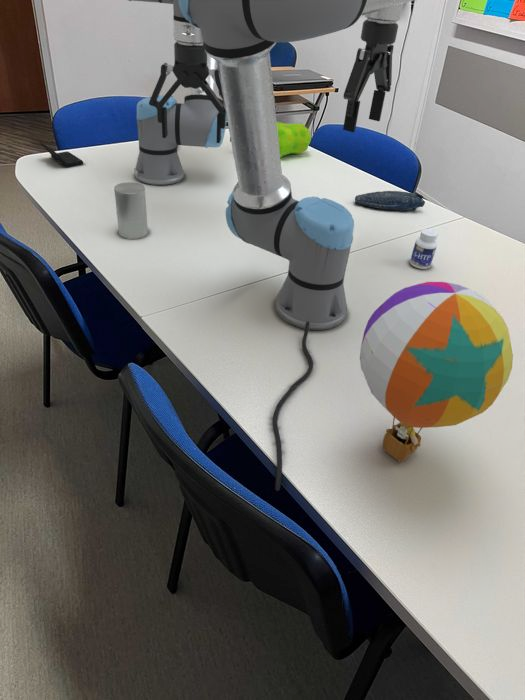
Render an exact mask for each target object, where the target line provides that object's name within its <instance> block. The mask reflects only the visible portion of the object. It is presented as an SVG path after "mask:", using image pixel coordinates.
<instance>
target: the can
mask: <svg viewBox="0 0 525 700" xmlns="http://www.w3.org/2000/svg"><path fill="white" fill-rule="evenodd" d="M113 191H114V202H115V210H116V220H117V228H118V234H119V236H120V237H122V238H124V239H126V240H127V239H128V240H138V239H142V238H144V237H146V236H147V235H148V233H149V230H148V229H149V227H148V214H147V198H146V187H145V186H144V184H142V183H139V182H133V181H129V182H128V181H127V182H126V181H125V182H121V183H117V184H116V185H114V187H113Z"/></svg>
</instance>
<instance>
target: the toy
mask: <svg viewBox="0 0 525 700" xmlns="http://www.w3.org/2000/svg"><path fill="white" fill-rule="evenodd" d="M510 336H511V335H510V332H509V327H508V325H507V323H506V321H505V319H504V317H503V316H502V315H501V314H500V312H499V311H498V310H497V309H496V307H494V305H493V304H492V303H491V302H490V301H489V300H488V299H487V298H485V297H484V296H482V295H481V294H479V293H478V292H476V291H475V290H473V289H470V288H468V287H465V286H463V285H460V284H457V283H451V282H446V281H425V282H421V283H417V284H414V285H409V286H407V287H404V288H402V289H399V290H398V291H396V292H395V293H393V294H392V295H391V296H390V297H388V298H387V299H386V300H385V301H384V302H383V303H381V305H380V306H378V307H377V308H375V310H374V311H373V313H372V314H371V315H370V317H369V318H368V319H367V322H366V325H365V328H364V331H363V336H362V340H361V344H360V353H359V363H360V369H361V371H362V374H363V377H364V379H365V381H366V384H367V387H368V388H369V390H370V393H371V395H372V396H374V398H375V399H376V400H377V401H378V402H379V404H380V405H381V406H382V407H383V408H384V409H385V410H386V411H388V413H389V414H390V415H391V416H392V417H393V421H392V426H391V428H386V430H385V433H384V437H383V440H382V449H383V450H384V451H385V452H386V453H387V454H389V456H391V457H392V458H393V459H395V460H396V461H397V462H399V463H403V462H405V460H407V459H408V458H409V457H410V456H411V455H413V454H414V453H415V452H416V450H417V449H418V448H420V447H421V441H422V436H421V435H420V434H419V433H420V432H421V431H422V430H423V429H424V428H425V429H428V428H443V427H452V426H457V425H459V424H461V423H463V422H466V421H468V420H470V419H472V418H474V417H477V416H479V415H480V414H481V415H482V414H483V413H484V412H486V411H487V410H489V408H490V407H491V406H492V405H494V403H495V401H496V400H497V398H498V397H499V395H500V393H501V392H502V390H503V388H504V387H505V386H506V384H507V383H508V381H509V378H510V376H511V372H512V370H513V359H514V353H513V347H512V342H511V337H510ZM395 420H397V421H398V422H399V423H397V424H395ZM415 428H417V429H419V428H420V429H419V430H418V431H417V432H416V430H415Z"/></svg>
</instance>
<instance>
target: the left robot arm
mask: <svg viewBox="0 0 525 700" xmlns="http://www.w3.org/2000/svg"><path fill="white" fill-rule="evenodd" d="M127 1H128V2H143V3H144V2H145V3H147V2H148V3H158V4H167V5H168V4H169V5H172V9H173V17H172V19H173V20H172V21H173V39H174V40H175V42H174V44H173V51H174V52H173V53H174V62H173V63H174V64H173V65H171V64H168V63H167V62H164V63H163V64H161V65H160V73H159V74H160V75H159V78H158V79H157V82H156V84H155V87H154V89H153V91H152V94H151V96H149V97H144V98H142V99H141V100H139V101H138V103H137V104H136V116H135V117H136V118H135V119H136V123H137V124H136V125H137V126H136V127H137V137H138V156H137V160H136V164H135V167H134V168H133V173H134V176H135V179H136V180H137V181H139V182H141V183H144V184H148V185H153V186H169V185H174V184H177V183H179V182H181V181H183V179H184V178H185V174H184V173H185V171H184V168H183V165H182V162H181V159H180V156H179V153H178V147H179V146H185V147H200V148H206V149H208V148H219V147H221V146H222V145H223V142H224V138H225V132H226V128H227V122H228V121H227V116H226V110H225V105H224V99H223V94H222V88H221V83H220V77H219V72H218V66H217V61H216V60H215V59H213V58H212V57H210V56H209V55H208V54H207V53H206V52H205V49H204V44H203V39H202V34H201V29H200V28H197V27H195V26H193V25H192V24H191V23H190V22H189V21H188V20H186V19H185V17H184V16H183V14H182V12H181V9H180V6H179V2H178V0H127ZM171 73H173V74H174V77H176V80H175V82H174V83H173V84H172V85H171V87H170V88H169V89H168V90H167V92H166V93H165V94H164V95H161V94H160V93H161V91H162V89H163V87H164V84H165V82H166V79H167V77H168V76H169V75H170V74H171ZM180 86H182V87H183V88H184V89H188V88H189V91H188V93H186V94H185V95H184V100H183V101H184V102H183V103H181V102H180V103H179V102H177V99H176V97H175V96H173V95H174V93H175V92H176V90H177V89H178V88H179V87H180Z"/></svg>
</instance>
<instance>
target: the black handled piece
mask: <svg viewBox="0 0 525 700" xmlns="http://www.w3.org/2000/svg"><path fill="white" fill-rule="evenodd" d="M38 143H39V144H40V145H41V146H42V147H43V149H45V150H46V151H47V152H48V153H49V154H50V156H51V158H52V159H54V160H55V161H57V162H58V163H60V164H61V165H62V166H64V167H66V168H69V167H74V166H79V165H84V161H83V160H82V159H81V158H79V157H78V156H76V155H74V154H73V153H71V152H69V151H61V152H56V151H55V150H53V149H52V148H51V147H49V146H48V145H46V144H44V143H42V142H41V141H39V142H38Z"/></svg>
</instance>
